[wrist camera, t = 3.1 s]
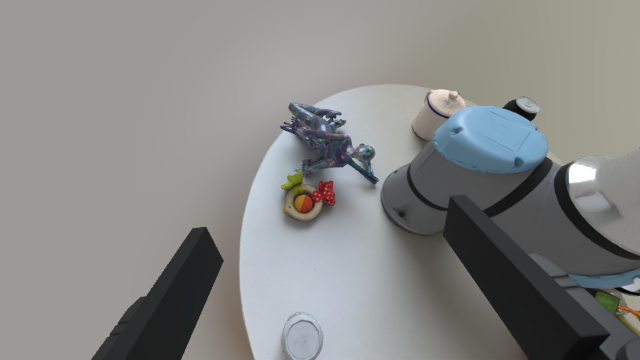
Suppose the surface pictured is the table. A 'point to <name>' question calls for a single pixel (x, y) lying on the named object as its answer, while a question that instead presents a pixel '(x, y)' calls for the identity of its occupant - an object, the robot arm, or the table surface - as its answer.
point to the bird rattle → (306, 197)
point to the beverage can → (523, 107)
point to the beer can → (302, 337)
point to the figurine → (327, 141)
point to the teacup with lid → (436, 112)
